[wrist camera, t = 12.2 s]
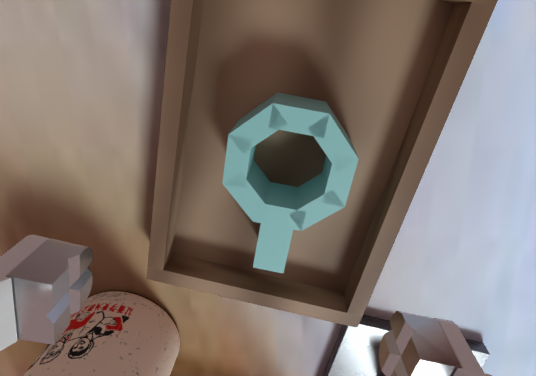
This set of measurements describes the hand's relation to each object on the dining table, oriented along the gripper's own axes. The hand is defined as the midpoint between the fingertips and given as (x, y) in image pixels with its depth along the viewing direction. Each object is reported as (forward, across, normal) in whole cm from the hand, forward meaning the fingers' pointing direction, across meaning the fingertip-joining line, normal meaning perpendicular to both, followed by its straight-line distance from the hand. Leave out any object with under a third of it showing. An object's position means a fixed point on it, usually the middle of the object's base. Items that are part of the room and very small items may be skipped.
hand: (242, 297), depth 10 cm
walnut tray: (+13, -1, 0) cm, 13 cm away
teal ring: (+13, -1, +1) cm, 13 cm away
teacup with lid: (+14, +9, +19) cm, 25 cm away
